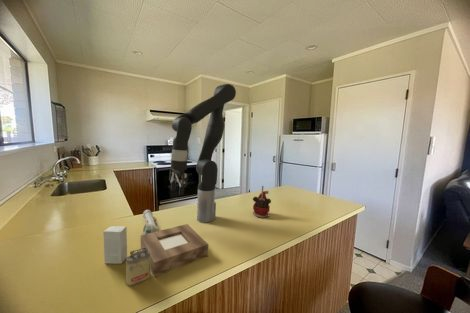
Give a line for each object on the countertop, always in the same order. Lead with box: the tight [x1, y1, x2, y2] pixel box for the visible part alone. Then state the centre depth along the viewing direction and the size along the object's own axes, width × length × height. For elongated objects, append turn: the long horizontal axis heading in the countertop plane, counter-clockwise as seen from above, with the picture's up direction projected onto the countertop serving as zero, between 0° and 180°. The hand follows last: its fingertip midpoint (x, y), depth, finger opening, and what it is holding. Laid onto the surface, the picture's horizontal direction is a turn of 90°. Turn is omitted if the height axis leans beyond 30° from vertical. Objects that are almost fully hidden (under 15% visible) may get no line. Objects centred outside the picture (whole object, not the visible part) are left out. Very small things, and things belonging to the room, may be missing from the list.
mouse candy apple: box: [252, 185, 272, 218], centre depth 117 cm, size 11×9×18 cm
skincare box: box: [103, 225, 128, 265], centre depth 70 cm, size 6×4×12 cm
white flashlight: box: [142, 209, 160, 235], centre depth 97 cm, size 5×7×25 cm
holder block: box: [140, 223, 209, 278], centre depth 77 cm, size 20×20×5 cm
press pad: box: [159, 234, 188, 250], centre depth 77 cm, size 9×9×1 cm
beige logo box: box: [125, 246, 152, 286], centre depth 62 cm, size 7×4×10 cm, turn 130°
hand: (177, 192), depth 95 cm, fingers open, 8 cm apart
